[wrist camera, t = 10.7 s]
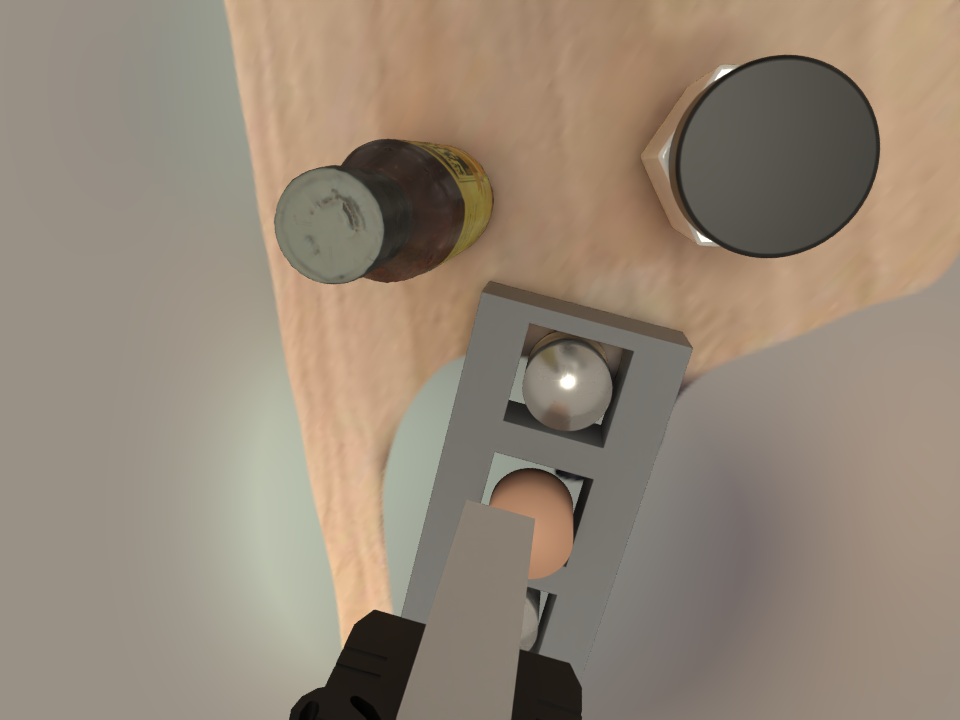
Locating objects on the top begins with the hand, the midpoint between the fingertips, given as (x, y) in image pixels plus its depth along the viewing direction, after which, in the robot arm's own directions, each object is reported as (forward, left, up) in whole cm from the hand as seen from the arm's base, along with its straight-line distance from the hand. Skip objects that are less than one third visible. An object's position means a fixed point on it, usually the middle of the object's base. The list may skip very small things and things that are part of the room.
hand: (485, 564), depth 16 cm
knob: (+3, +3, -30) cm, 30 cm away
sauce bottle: (-5, -7, -31) cm, 32 cm away
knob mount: (+11, +3, -31) cm, 33 cm away
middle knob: (+11, +3, -27) cm, 29 cm away
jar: (-11, +8, -31) cm, 33 cm away
